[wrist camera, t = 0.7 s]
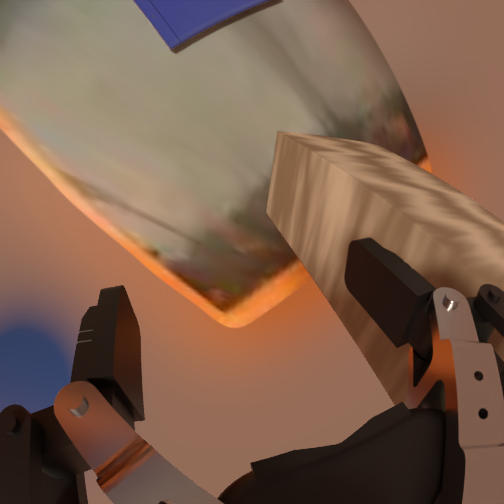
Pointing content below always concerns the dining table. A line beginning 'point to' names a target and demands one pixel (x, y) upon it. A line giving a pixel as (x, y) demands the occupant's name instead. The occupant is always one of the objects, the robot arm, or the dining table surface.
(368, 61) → the dining table surface
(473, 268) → the stand
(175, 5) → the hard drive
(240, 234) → the dining table surface
